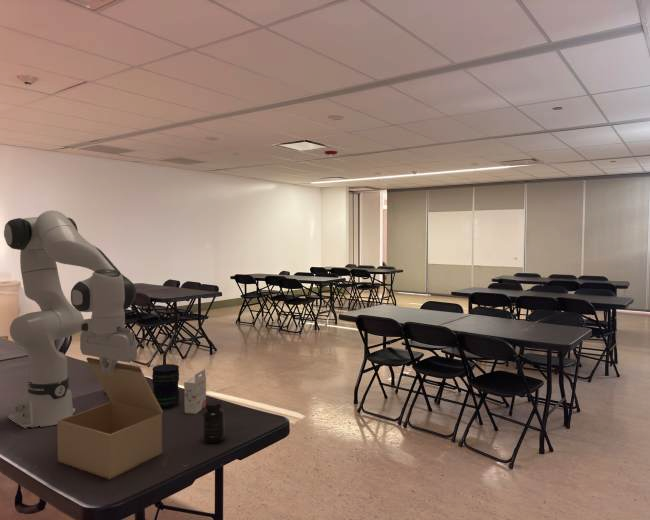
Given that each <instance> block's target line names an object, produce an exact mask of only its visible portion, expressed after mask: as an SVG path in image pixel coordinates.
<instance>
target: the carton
mask: <svg viewBox="0 0 650 520" xmlns="http://www.w3.org/2000/svg"><path fill="white" fill-rule="evenodd" d="M56 425H57V428H56V429H57V430H56V431H57V462H58V461H59V462H58V463H60V462H61V463H60V464H63V463H64V464H63V465H65V464H66V466H68V465H69V467H71V466H72V468H74V467H75V469H77V468H78V470H80V471H83V470H84V471H83V472H86V471H87V472H86V473H89V474H91V475H95V476H98V477H101V478H104V479H106V480H113V479H115V478H117V477H120V476H121V475H122V474H125V473H126V472H128V471H130V470H133V469H134V468H136V467H139V466H140V465H143V464H144V463H146V462H148V461H150V460H152V459H153V458H155V457H158V456H159V455H162V454H163V413H158V412H154V411H149V410H145V409H141V408H136V407H132V406H128V405H124V404H119V403H115V402H111V401H110V402H107V403H104V404H101V405H98V406H95V407H93V408H90V409H86V410H84V411H81V412H79V413H76V414H73V415H72V416H69V417H66V418H63V419H61V420H58V421H57V424H56Z"/></svg>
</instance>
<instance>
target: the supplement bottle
mask: <svg viewBox="0 0 650 520" xmlns="http://www.w3.org/2000/svg"><path fill="white" fill-rule="evenodd" d="M204 408H205V411H204V412H203V413H202V440H203V442H204V443H206V444H218V443H221V442H222V441H223V440H224V439H225V412H224V410H223V409H222V403H221V401H220V400H209V401H206V406H205V407H204Z"/></svg>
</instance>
